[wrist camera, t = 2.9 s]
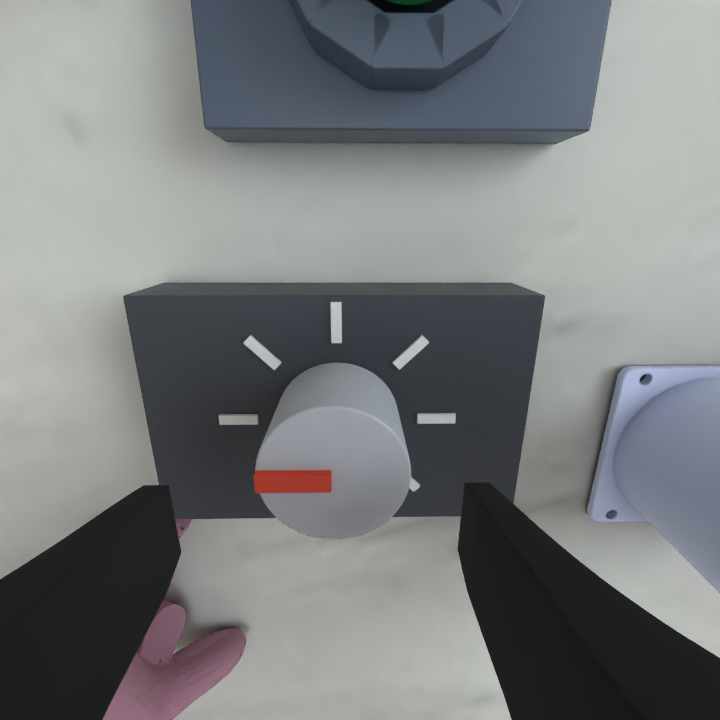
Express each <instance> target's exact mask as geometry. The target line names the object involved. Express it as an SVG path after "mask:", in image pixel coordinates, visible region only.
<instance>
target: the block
mask: <svg viewBox="0 0 720 720" xmlns="http://www.w3.org/2000/svg"><path fill="white" fill-rule="evenodd" d="M610 6H611V0H433V1H430V2H426V3H422V4H415V5H404V4H396V3H393V2H389V1H386V0H191V8H192V17H193V26H194V35H195V45H196V54H197V63H198V72H199V81H200V90H201V99H202V109H203V118H204V126H205V129H207V130H209V131H210V132H212V133H213V134H215V135H216V136H218V137H220V138H221V139H223V140H224V141H226V142H334V143H507V144H556V143H559V142H562V141H564V140H567V139H569V138H572V137H574V136H577V135H580V134H582V133H585V132H587V131H589V130H590V126H591V120H592V114H593V108H594V102H595V96H596V90H597V84H598V78H599V72H600V66H601V60H602V54H603V48H604V42H605V36H606V30H607V24H608V18H609V12H610Z"/></svg>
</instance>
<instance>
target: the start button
mask: <svg viewBox="0 0 720 720" xmlns="http://www.w3.org/2000/svg"><path fill="white" fill-rule="evenodd" d="M386 1H389V2H393V3H396V4H404V5H415V4H422V3H426V2H430V1H433V0H386Z"/></svg>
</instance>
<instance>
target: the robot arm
mask: <svg viewBox="0 0 720 720" xmlns="http://www.w3.org/2000/svg"><path fill="white" fill-rule="evenodd" d="M644 374H645V375H646V376H645V378H644V379H643V380H642V381H640V378H641V376H643V375H644ZM610 510H611V511H610ZM608 511H610V512H609V513H607V512H608ZM587 514H588V515H589V517H590V518H591V519H592V520H593V521H595V522H650V523H651V524H652V525H653V526H654V527H655V528H656V529H657V530H658V531H659V532H660V534H661V535H662V536H663V537H664V538H665V539H666V540H667V541H668V542H669V543H670V544H671V545H672V546H673V547H674V548H675V549H676V550H677V551H678V552H679V553H680V554H681V555H682V556H683V557H684V558H685V559H686V560H687V561H688V562H689V563H690V564H691V565H692V566H693V567H694V568H695V569H696V570H697V571H698V572H699V573H700V574H701V575H702V576H703V577H704V578H705V579H706V580H707V581H708V582H709V583H710V584H711V585H712V586H713V587H714V588H715V589H716V590H717V591H718V592H719V593H720V365H702V366H627V367H625V368H623V369H622V370H621V371H620V372H619V374H618V376H617V380H616V385H615V389H614V394H613V398H612V402H611V407H610V411H609V416H608V420H607V424H606V429H605V433H604V438H603V442H602V446H601V451H600V455H599V460H598V464H597V468H596V473H595V477H594V482H593V486H592V490H591V495H590V499H589V504H588V508H587ZM458 552H459V557H460V561H461V566H462V570H463V575H464V579H465V583H466V587H467V591H468V594H469V597H470V600H471V603H472V606H473V609H474V612H475V615H476V617H477V620H478V623H479V626H480V629H481V632H482V635H483V637H484V640H485V643H486V646H487V649H488V651H489V654H490V657H491V660H492V663H493V666H494V668H495V671H496V674H497V677H498V680H499V683H500V685H501V688H502V691H503V694H504V697H505V700H506V703H507V706H508V709H509V712H510V716H511V719H512V720H720V658H719V657H717V656H716V655H714V654H712V653H711V652H709V651H707V650H706V649H704V648H703V647H701V646H699V645H698V644H696V643H695V642H693V641H691V640H690V639H688V638H686V637H685V636H683V635H682V634H680V633H679V632H677V631H676V630H674V629H672V628H671V627H669V626H668V625H666V624H665V623H663V622H662V621H660V620H659V619H657V618H656V617H654V616H653V615H652V614H650V613H649V612H647V611H646V610H644V609H643V608H642V607H640V606H639V605H637V604H636V603H634V602H633V601H631V600H630V599H629V598H627V597H626V596H624V595H623V594H621V593H620V592H619V591H617V590H616V589H615V588H613V587H612V586H611V585H609V584H608V583H607V582H605V581H604V580H603V579H601V578H600V577H599V576H597V575H596V574H595V573H594V572H592V571H591V570H590V569H589V568H587V567H586V566H585V565H583V564H582V563H581V562H580V561H578V560H577V559H576V558H575V557H573V556H572V555H571V554H570V553H569V552H567V551H566V550H565V549H564V548H563V547H561V546H560V545H559V544H558V543H557V542H555V541H554V540H553V539H552V538H551V537H550V536H548V535H547V534H546V533H545V532H544V531H543V530H542V529H540V528H539V527H538V526H537V525H536V524H535V523H534V522H533V521H531V520H530V519H529V518H528V517H527V516H526V515H525V514H524V513H523V512H522V511H520V510H519V509H518V508H517V507H516V506H515V505H514V504H513V503H512V502H511V501H510V500H508V499H507V498H506V497H505V496H504V495H503V494H502V493H501V492H500V491H499V490H498V489H496V488H495V487H494V486H493V485H492V484H491V483H490V482H465V483H464V493H463V502H462V512H461V522H460V532H459V542H458ZM180 554H181V548H180V543H179V537H178V532H177V526H176V521H175V515H174V510H173V504H172V499H171V494H170V488H169V485H148V486H142V487H141V488H139V489H137V490H135V491H134V492H132V493H131V494H129V495H128V496H126V497H125V498H123V499H122V500H120V501H119V502H117V503H116V504H114V505H113V506H111V507H110V508H108V509H107V510H105V511H104V512H102V513H101V514H100V515H98V516H97V517H95V518H94V519H92V520H91V521H89V522H88V523H86V524H85V525H83V526H82V527H80V528H79V529H77V530H76V531H75V532H73V533H72V534H70V535H69V536H67V537H66V538H64V539H63V540H61V541H60V542H58V543H57V544H55V545H54V546H52V547H51V548H49V549H48V550H46V551H44V552H43V553H41V554H40V555H38V556H37V557H35V558H33V559H32V560H30V561H29V562H27V563H26V564H24V565H22V566H21V567H19V568H18V569H16V570H15V571H13V572H11V573H10V574H8V575H7V576H5V577H3V578H2V579H0V720H103V718H104V716H105V714H106V711H107V709H108V707H109V705H110V703H111V701H112V699H113V697H114V695H115V693H116V691H117V689H118V688H119V686H120V684H121V682H122V680H123V678H124V676H125V674H126V672H127V670H128V668H129V666H130V664H131V662H132V660H133V658H134V656H135V654H136V653H137V651H138V649H139V647H140V645H141V643H142V641H143V639H144V637H145V635H146V633H147V631H148V629H149V627H150V625H151V623H152V621H153V619H154V617H155V615H156V613H157V611H158V609H159V607H160V605H161V603H162V601H163V599H164V597H165V595H166V592H167V590H168V587H169V585H170V582H171V579H172V577H173V574H174V571H175V568H176V566H177V563H178V560H179V557H180Z"/></svg>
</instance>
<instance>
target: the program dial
mask: <svg viewBox="0 0 720 720" xmlns="http://www.w3.org/2000/svg"><path fill="white" fill-rule="evenodd" d="M410 481H411V465H410V459H409V455H408V450H407V446H406V442H405V438H404V434H403V430H402V425H401V421H400V417H399V413H398V409H397V405H396V402H395V399H394V397H393V395H392V393H391V391H390V389H389V388H388V387H387V385H386V384H385V383H384V382H383V381H382V380H381V379H380V378H379V377H378V376H376V375H375V374H373V373H372V372H370V371H369V370H367V369H364V368H362V367H360V366H356V365H353V364H348V363H327V364H321V365H318V366H315V367H312V368H310V369H308V370H306V371H304V372H303V373H301V374H299V375H298V376H297V377H296V378H295V379H293V380H292V382H291V383H290V384H289V385H288V386H287V388H286V389H285V391H284V392H283V394H282V397H281V399H280V401H279V403H278V406H277V408H276V411H275V413H274V416H273V418H272V421H271V423H270V425H269V428H268V430H267V433H266V435H265V438H264V440H263V442H262V445H261V447H260V450H259V453H258V456H257V459H256V467H255V474H254V487H255V493H260V496H261V498H262V500H263V502H264V503H265V505H266V506H267V508H268V509H269V510H270V511H271V513H272V514H273V515H274V516H275V517H276V518H277V519H279V520H280V521H281V522H282V523H284V524H285V525H287V526H288V527H290V528H292V529H294V530H295V531H297V532H300V533H303V534H305V535H308V536H312V537H316V538H323V539H345V538H351V537H356V536H359V535H363V534H365V533H368V532H370V531H372V530H374V529H376V528H378V527H380V526H381V525H382V524H384V523H385V522H387V521H388V520H389V519H390V518H391V517H392V516H393V515H394V514H395V513H396V512H397V510H398V509H399V508H400V506H401V505H402V503H403V502H404V499H405V497H406V495H407V493H408V490H409V486H410Z"/></svg>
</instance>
